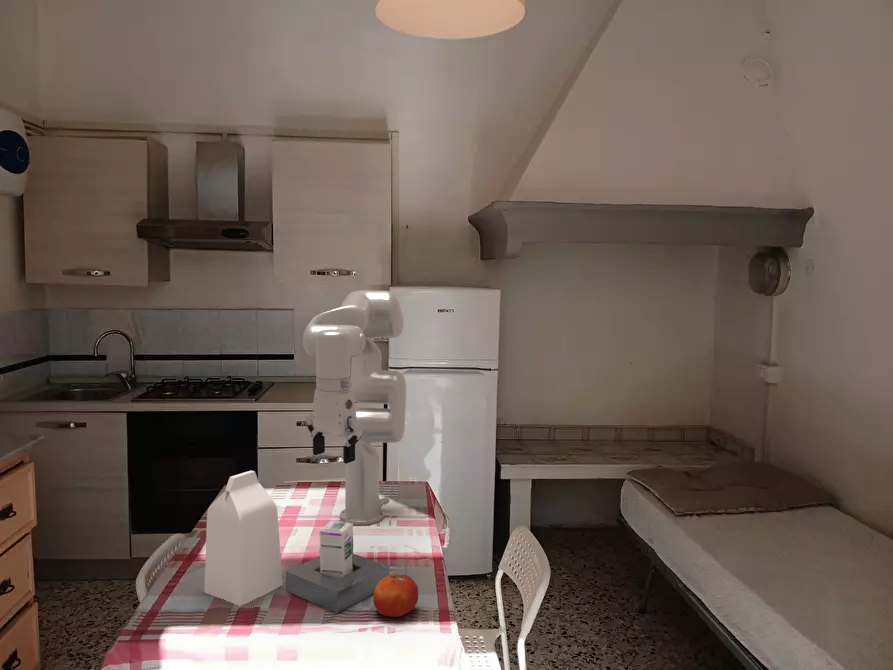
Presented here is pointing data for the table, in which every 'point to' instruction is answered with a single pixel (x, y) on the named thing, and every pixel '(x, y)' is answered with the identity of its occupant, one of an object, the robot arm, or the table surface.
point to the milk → (242, 542)
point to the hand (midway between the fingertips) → (333, 457)
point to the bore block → (335, 583)
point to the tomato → (395, 595)
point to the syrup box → (336, 549)
